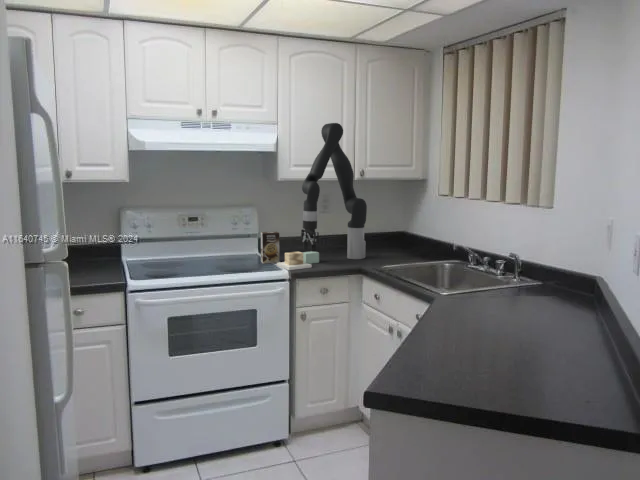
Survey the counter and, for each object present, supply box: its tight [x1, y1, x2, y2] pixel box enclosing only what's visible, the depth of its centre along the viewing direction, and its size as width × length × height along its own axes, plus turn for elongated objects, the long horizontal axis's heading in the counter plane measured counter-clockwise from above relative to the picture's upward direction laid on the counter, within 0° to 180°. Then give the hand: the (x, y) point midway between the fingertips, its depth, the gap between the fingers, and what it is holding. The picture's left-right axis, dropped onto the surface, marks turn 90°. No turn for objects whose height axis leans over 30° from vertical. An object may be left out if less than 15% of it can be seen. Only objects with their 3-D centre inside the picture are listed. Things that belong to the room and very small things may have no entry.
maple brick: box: [284, 251, 303, 265], centre depth 268 cm, size 8×5×6 cm, turn 122°
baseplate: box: [276, 261, 313, 271], centre depth 269 cm, size 13×13×2 cm
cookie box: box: [260, 231, 280, 265], centre depth 278 cm, size 9×6×16 cm
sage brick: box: [300, 250, 320, 265], centre depth 279 cm, size 8×5×6 cm, turn 122°
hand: (309, 250), depth 279 cm, fingers open, 8 cm apart
